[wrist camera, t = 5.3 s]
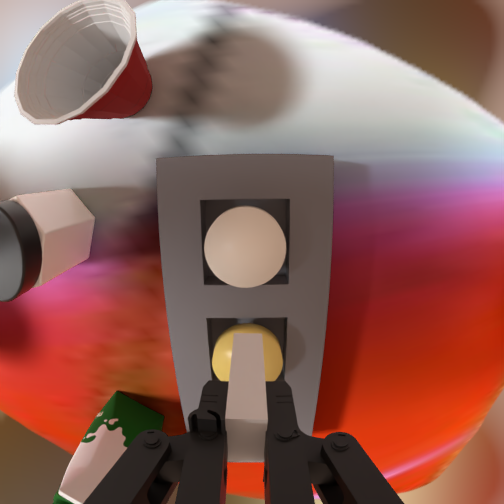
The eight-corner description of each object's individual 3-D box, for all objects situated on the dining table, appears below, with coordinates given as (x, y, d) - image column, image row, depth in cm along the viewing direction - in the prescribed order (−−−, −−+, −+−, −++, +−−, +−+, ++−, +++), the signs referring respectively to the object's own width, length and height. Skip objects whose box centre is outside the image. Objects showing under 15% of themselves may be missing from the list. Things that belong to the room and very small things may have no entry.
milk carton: (112, 382, 34) (46, 500, 14) (174, 415, 35) (139, 545, 15) (97, 416, 35) (44, 518, 16) (152, 446, 37) (118, 555, 17)
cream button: (209, 279, 25) (206, 287, 23) (206, 206, 24) (202, 208, 22) (282, 278, 25) (285, 287, 23) (283, 205, 24) (286, 207, 22)
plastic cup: (158, 28, 24) (117, -32, 12) (192, 110, 26) (155, 69, 15) (72, 77, 25) (5, 46, 13) (97, 159, 27) (23, 155, 16)
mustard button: (216, 377, 27) (214, 390, 26) (212, 323, 26) (209, 334, 24) (279, 377, 27) (281, 390, 26) (281, 322, 26) (284, 333, 24)
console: (198, 433, 36) (193, 460, 31) (171, 161, 28) (156, 158, 23) (302, 432, 36) (307, 459, 31) (319, 159, 28) (333, 155, 23)
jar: (45, 180, 28) (-31, 189, 16) (101, 197, 28) (28, 211, 17) (35, 255, 30) (-33, 287, 18) (88, 276, 30) (24, 321, 19)
